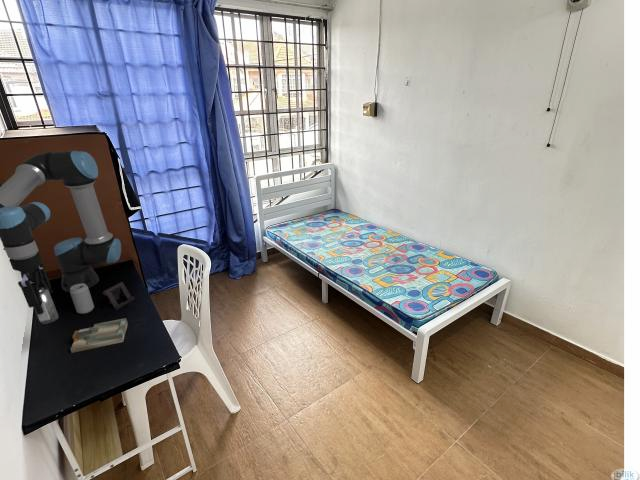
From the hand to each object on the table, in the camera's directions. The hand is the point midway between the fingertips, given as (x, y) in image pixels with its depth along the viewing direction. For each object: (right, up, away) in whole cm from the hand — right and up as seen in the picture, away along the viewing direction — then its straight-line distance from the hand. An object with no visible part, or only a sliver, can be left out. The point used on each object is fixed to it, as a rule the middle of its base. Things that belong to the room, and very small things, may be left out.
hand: (48, 315), depth 115 cm
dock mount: (+10, -11, +12) cm, 20 cm away
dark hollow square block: (+5, -3, +34) cm, 34 cm away
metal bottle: (0, -2, +1) cm, 2 cm away
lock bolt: (+5, -11, +10) cm, 15 cm away
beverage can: (-7, -5, +29) cm, 30 cm away
